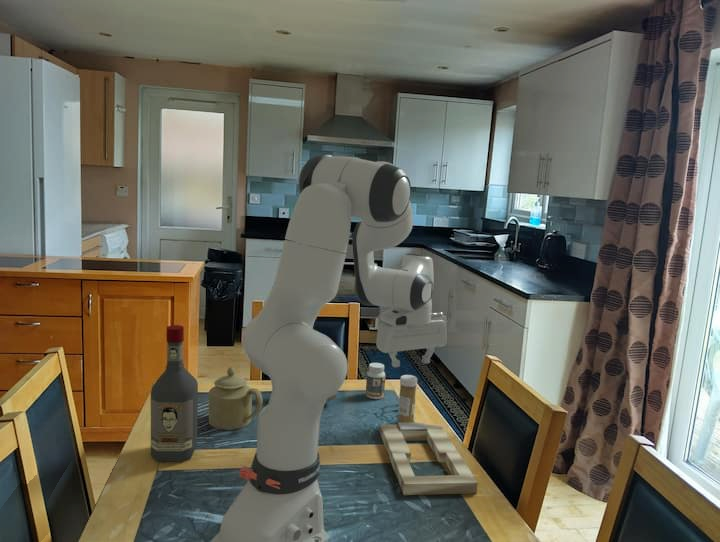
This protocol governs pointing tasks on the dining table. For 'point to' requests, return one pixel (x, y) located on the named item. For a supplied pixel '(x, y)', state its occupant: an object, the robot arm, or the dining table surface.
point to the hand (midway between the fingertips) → (410, 364)
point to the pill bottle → (375, 381)
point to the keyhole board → (443, 451)
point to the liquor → (174, 405)
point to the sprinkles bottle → (407, 399)
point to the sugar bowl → (232, 402)
